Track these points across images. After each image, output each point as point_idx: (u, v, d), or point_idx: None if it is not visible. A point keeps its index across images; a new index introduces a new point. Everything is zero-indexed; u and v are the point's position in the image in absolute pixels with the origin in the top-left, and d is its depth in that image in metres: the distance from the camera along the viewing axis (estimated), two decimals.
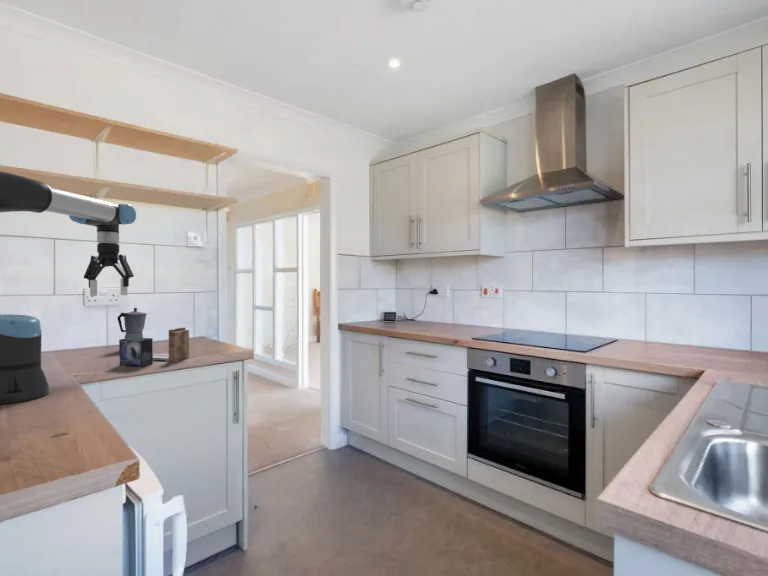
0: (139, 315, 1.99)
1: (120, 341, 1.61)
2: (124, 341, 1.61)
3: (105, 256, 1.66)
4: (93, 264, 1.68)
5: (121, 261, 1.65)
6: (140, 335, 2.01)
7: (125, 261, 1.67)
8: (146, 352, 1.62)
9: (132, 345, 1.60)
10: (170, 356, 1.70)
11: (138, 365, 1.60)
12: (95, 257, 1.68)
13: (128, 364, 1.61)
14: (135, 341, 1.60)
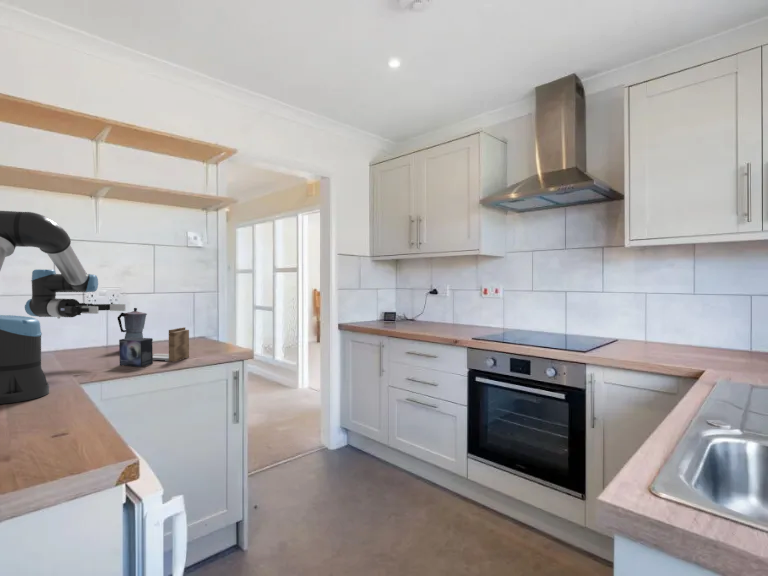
0: (139, 315, 2.00)
1: (120, 341, 1.61)
2: (124, 341, 1.61)
3: None
4: None
5: (95, 304, 1.73)
6: (140, 335, 2.01)
7: None
8: (146, 352, 1.62)
9: (132, 345, 1.60)
10: (170, 356, 1.70)
11: (138, 365, 1.60)
12: None
13: (128, 364, 1.61)
14: (135, 341, 1.60)
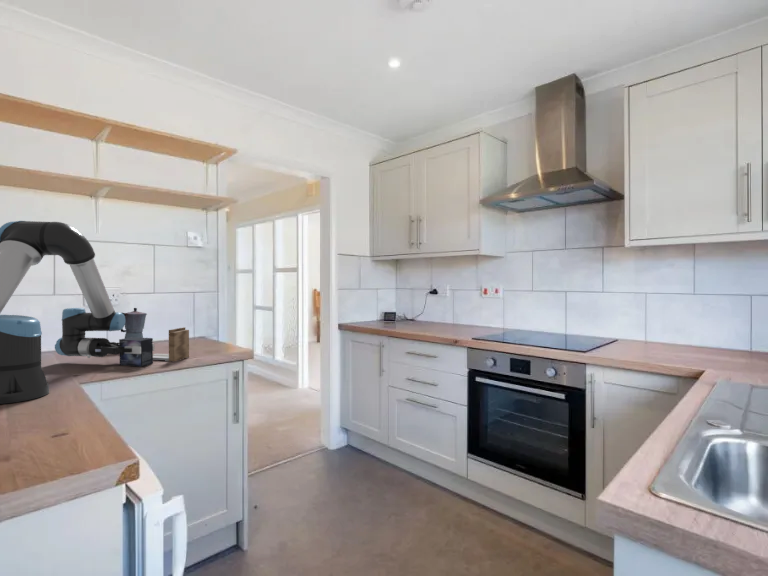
0: (139, 315, 1.99)
1: (120, 341, 1.61)
2: (124, 341, 1.61)
3: (103, 345, 1.64)
4: None
5: None
6: (140, 335, 2.01)
7: None
8: (146, 352, 1.62)
9: (132, 345, 1.60)
10: (170, 356, 1.70)
11: (138, 365, 1.60)
12: None
13: (128, 364, 1.61)
14: (135, 341, 1.60)
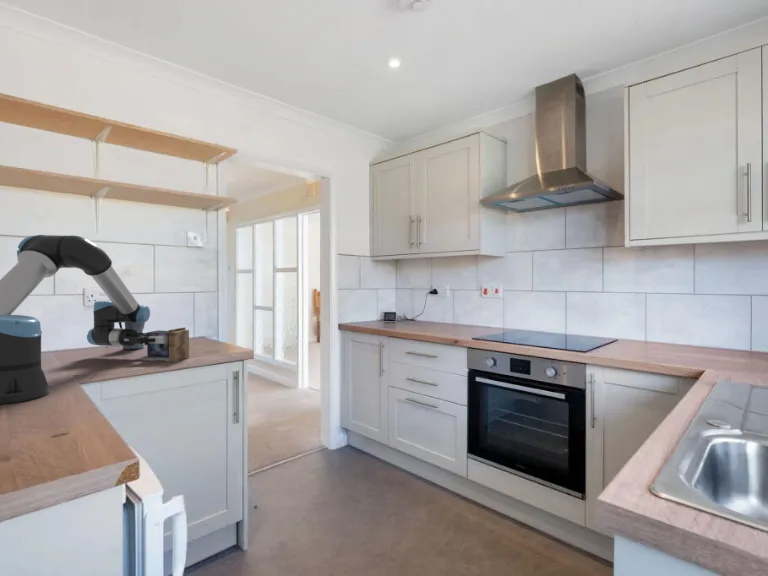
0: None
1: (148, 334, 1.74)
2: (152, 334, 1.73)
3: (133, 335, 1.77)
4: None
5: None
6: None
7: None
8: None
9: None
10: (170, 356, 1.70)
11: (165, 356, 1.72)
12: None
13: (156, 355, 1.73)
14: (162, 333, 1.72)
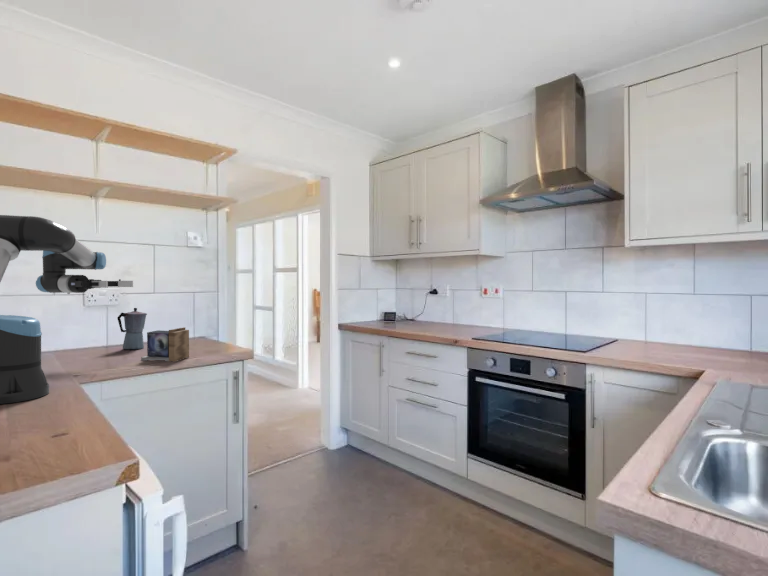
0: (139, 315, 2.00)
1: (148, 334, 1.74)
2: (152, 334, 1.73)
3: None
4: None
5: None
6: (140, 335, 2.01)
7: None
8: None
9: (159, 337, 1.72)
10: (170, 356, 1.70)
11: (165, 356, 1.72)
12: None
13: (156, 355, 1.73)
14: (162, 333, 1.72)
